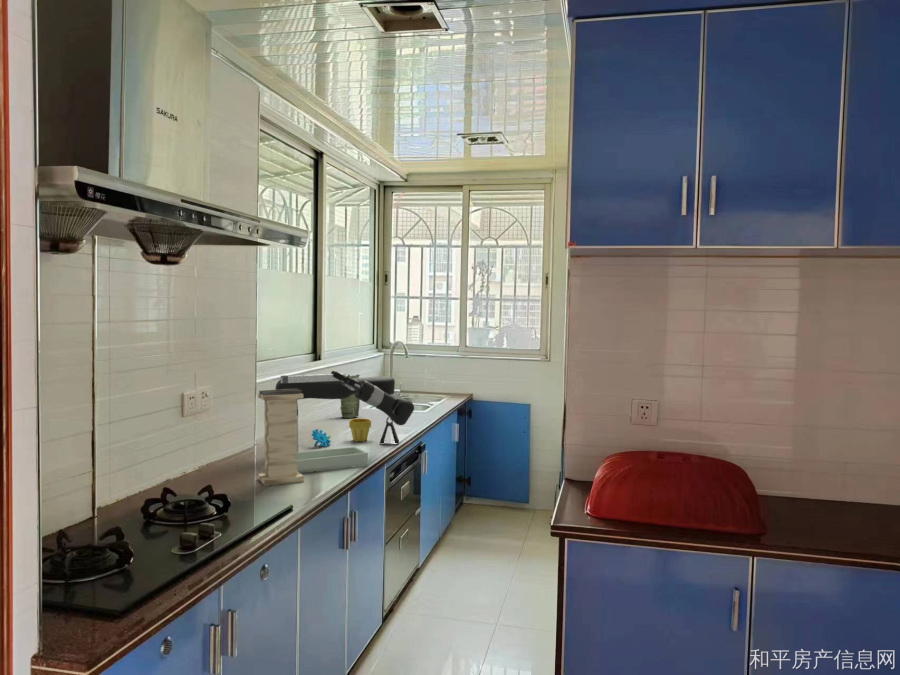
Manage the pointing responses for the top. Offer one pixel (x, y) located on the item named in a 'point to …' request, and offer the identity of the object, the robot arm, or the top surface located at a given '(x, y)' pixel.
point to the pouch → (350, 404)
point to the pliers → (392, 432)
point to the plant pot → (360, 428)
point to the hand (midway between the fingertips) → (332, 373)
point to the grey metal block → (308, 378)
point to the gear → (321, 438)
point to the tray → (330, 459)
